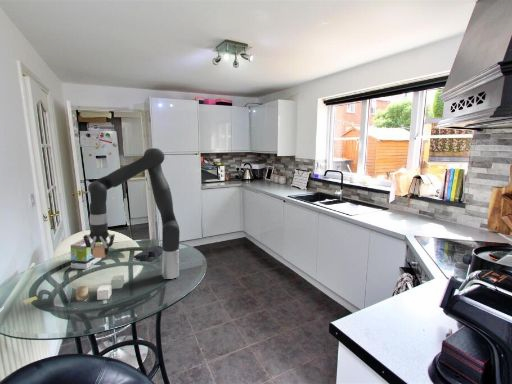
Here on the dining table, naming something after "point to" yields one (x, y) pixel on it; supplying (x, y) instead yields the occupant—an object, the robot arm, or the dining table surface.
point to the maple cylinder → (81, 293)
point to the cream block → (104, 292)
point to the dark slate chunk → (149, 254)
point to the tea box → (82, 255)
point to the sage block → (117, 281)
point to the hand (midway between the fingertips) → (100, 254)
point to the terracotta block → (99, 251)
